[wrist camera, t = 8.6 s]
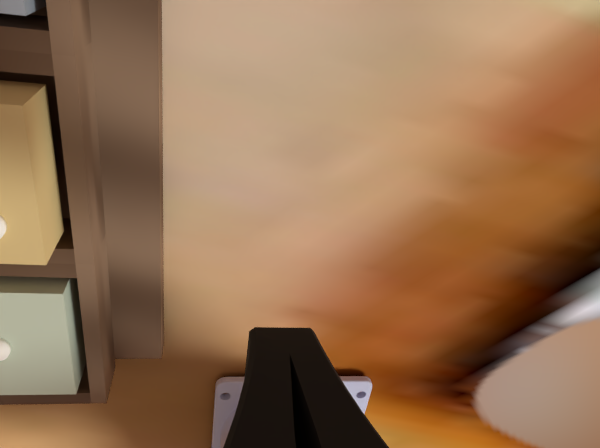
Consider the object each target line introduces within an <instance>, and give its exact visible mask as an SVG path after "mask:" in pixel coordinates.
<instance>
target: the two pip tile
mask: <svg viewBox="0 0 600 448" xmlns="http://www.w3.org/2000/svg"><path fill="white" fill-rule="evenodd" d="M63 232H64V227H63V219H62V211H61V202H60V194H59V186H58V178H57V169H56V161H55V153H54V145H53V137H52V128H51V120H50V112H49V104H48V95H47V87H46V84H38V83H27V82H16V81H4V80H0V264H22V265H47V263H48V261H49V259H50V257H51V255H52V253H53V251H54V249H55V247H56V245H57V243H58V242H59V240H60V238H61V236H62V234H63Z"/></svg>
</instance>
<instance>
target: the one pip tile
mask: <svg viewBox="0 0 600 448" xmlns="http://www.w3.org/2000/svg"><path fill="white" fill-rule="evenodd" d="M85 365H86V353H85V344H84V335H83V326H82V317H81V309H80V300H79V291H78V282H77V278H54V277H17V276H0V395H63V394H76V393H77V390H78V387H79V384H80V381H81V377H82V374H83V371H84V368H85Z"/></svg>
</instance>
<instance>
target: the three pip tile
mask: <svg viewBox="0 0 600 448" xmlns="http://www.w3.org/2000/svg"><path fill="white" fill-rule="evenodd" d="M43 7H46V0H0V13H3V14H12V15H22V16H27V15H29V14H31V13H33V12H35V11H37V10H39V9H41V8H43Z"/></svg>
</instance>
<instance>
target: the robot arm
mask: <svg viewBox="0 0 600 448" xmlns="http://www.w3.org/2000/svg"><path fill="white" fill-rule="evenodd" d="M371 390H372V383H371V380H370V378H368V377H366V376H339V375H338V374H337V372H336V370H335V369H334V367H333V365H332V364H331V362H330V360H329V358H328V357H327V355H326V353H325V351H324V350H323V348H322V346H321V344H320V342H319V340H318V338H317V337H316V335H315V333H314V331H313V330H312V329H311V328H260V327H255V328H254V329H252V330H251V331H249V340H248V349H247V359H246V368H245V377H222V378H220V379H218V380H217V382H216V386H215V401H214V416H213V432H212V447H211V448H389V447H388V446H387V445H386V443H385V442H384V441H383V439H382V438H381V437H380V435H379V434H378V433H377V431H376V430H375V429H374V427H373V426H372V425H371V423H370V422H369V420H368V419H367V418H366V416H365V415H364V414H365V410H366V407H367V404H368V400H369V397H370V393H371ZM361 391H362V392H361ZM223 393H227V394H223Z"/></svg>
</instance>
